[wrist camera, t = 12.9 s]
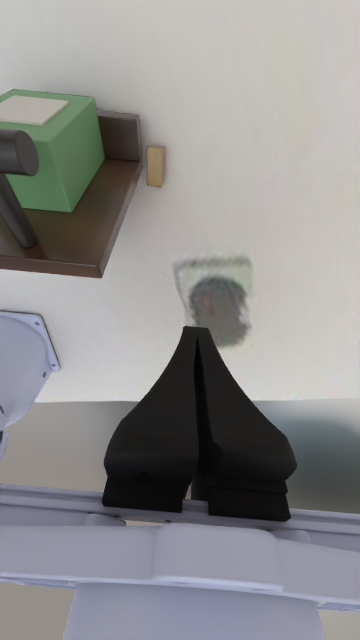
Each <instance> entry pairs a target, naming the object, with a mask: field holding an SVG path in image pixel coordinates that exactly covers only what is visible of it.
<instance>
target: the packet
mask: <svg viewBox="0 0 360 640" xmlns="http://www.w3.org/2000/svg"><path fill="white" fill-rule="evenodd" d="M0 128H7V129H17V130H23V131H25V132H26V133H27V134H28V135H29V136H30V137H31V138H32V140H33V142H34V144H35V146H36V149H37V152H38V157H39V169H38V172H37V174H36V175H34V176H22V175H12V174H5V175H6V177H7V179H8V181H9V183H10V185H11V187H12V188H13V190H14V192H15V194H16V196H17V198H18V200H19V202H20V204H21V206H22V208H29V209H39V210H49V211H59V212H69V213H71V212H72V211H73V210H74V208H75V207H76V205H77V203H78V202H79V200H80V198H81V197H82V195H83V193H84V192H85V190H86V188H87V187H88V185H89V184H90V182H91V180H92V179H93V177H94V175H95V174H96V172H97V170H98V169H99V167H100V165H101V164H102V162H103V161H104V159H105V156H104V150H103V145H102V139H101V133H100V127H99V122H98V116H97V110H96V104H95V99H94V98H93V97H85V96H76V95H66V94H57V93H47V92H38V91H28V90H18V89H13V90H11V91H9V92H7V93H5V94H3V95H1V96H0Z"/></svg>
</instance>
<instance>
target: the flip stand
mask: <svg viewBox="0 0 360 640" xmlns="http://www.w3.org/2000/svg"><path fill="white" fill-rule="evenodd" d="M97 116H98V122H99V127H100V133H101V139H102V145H103V150H104V156H105V159H104V161H103V162H102V164H101V165H100V167H99V169H98V170H97V172H96V174H95V175H94V177H93V179H92V180H91V182H90V184H89V185H88V187H87V188H86V190H85V192H84V193H83V195H82V197H81V198H80V200H79V202H78V203H77V205H76V207H75V208H74V210H73V211H72V212H71V213H69V212H59V211H49V210H39V209H29V208H22V206H21V204H20V202H19V200H18V198H17V196H16V194H15V192H14V190H13V188H12V187H11V185H10V183H9V181H8V179H7V177H6V175H5V174H12V175H22V176H34V175H36V174H37V172H38V169H39V157H38V152H37V149H36V146H35V144H34V142H33V140H32V138H31V137H30V136H29V135H28V134H27V133H26V132H25V131H23V130H17V129H7V128H0V269H7V270H18V271H28V272H39V273H49V274H59V275H70V276H80V277H90V278H102V276H103V274H104V271H105V268H106V265H107V263H108V260H109V257H110V255H111V252H112V249H113V246H114V244H115V241H116V238H117V236H118V233H119V230H120V227H121V225H122V222H123V219H124V217H125V214H126V211H127V208H128V206H129V203H130V200H131V198H132V195H133V192H134V189H135V187H136V184H137V181H138V179H139V176H140V173H141V170H142V157H141V156H142V152H141V135H140V119H139V115H137V114H127V113H118V112H108V111H99V110H97Z"/></svg>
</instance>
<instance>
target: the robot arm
mask: <svg viewBox="0 0 360 640" xmlns="http://www.w3.org/2000/svg"><path fill="white" fill-rule="evenodd" d="M59 371H60V366H59V364H58V361H57V358H56V355H55V353H54V350H53V347H52V345H51V342H50V339H49V336H48V334H47V331H46V328H45V326H44V323H43V320H42V318H41V317H40V316H39V315H33V314H23V313H12V312H2V311H0V461H1V460H2V458H3V455H4V453H5V450H6V446H7V440H8V434H7V432H6V431H5V430H4V428H5V427H7V426H10V425H12V424H13V423H15V422H17V421H18V420H19V419H21V418H22V417H23V416H24V415H25V414H26V413H27V412H28V410H29V409H30V407H31V406H32V404H33V402H34V401H35V399H36V397H37V396H38V394H39V392H40V391H41V389H42V387H43V386H44V384H45V382H46V381H47V379H48V377H49V376H50V374H51V372H59ZM104 467H105V470H106V473H107V476H108V478H107V482H106V486H105V490H104V492H95V491H84V490H73V489H61V488H50V487H38V486H27V485H14V484H4V483H0V582H3V583H14V584H25V585H35V586H45V587H55V588H66V589H75V594H74V597H73V601H72V605H71V609H70V613H69V616H68V620H67V624H66V628H65V631H64V635H63V639H62V640H326V639H325V635H324V631H323V627H322V623H321V619H320V615H319V611H318V609H324V610H338V611H354V612H360V514H348V513H337V512H326V511H315V510H302V509H292V508H289V507H288V503H287V499H286V495H285V494H286V493H287V492H288V490H287V486H286V482H285V480H287V479H288V478H289V477H290V476H291V475H292V474H293V473H294V471H295V470H296V468H297V463H296V460H295V456H294V454H293V451H292V449H291V446H290V444H289V442H288V439H287V437H286V436H285V435H284V434H283V433H282V432H281V431H280V430H278V429H277V428H276V427H275V426H274V425H273V424H272V423H271V422H270V421H269V420H268V419H267V418H266V417H265V416H264V415H263V414H262V413H261V412H260V411H259V410H258V408H257V407H256V406H255V405H254V404H253V403H252V402H251V400H250V399H249V398H248V397H247V396H246V394H245V393H244V392H243V390H242V389H241V388H240V387H239V385H238V384H237V382H236V381H235V379H234V378H233V376H232V375H231V373H230V372H229V370H228V368H227V367H226V365H225V363H224V362H223V360H222V358H221V356H220V354H219V352H218V350H217V348H216V346H215V344H214V341H213V339H212V336H211V333H210V330H209V329H208V328H201V327H191V326H185V327H183V332H182V335H181V338H180V341H179V344H178V346H177V348H176V350H175V352H174V354H173V356H172V358H171V360H170V362H169V363H168V365H167V367H166V368H165V370H164V372H163V373H162V374H161V376H160V377H159V379H158V380H157V382H156V383H155V384H154V386H153V387H152V388H151V389H150V391H149V392H148V393H147V394H146V395H145V396H144V398H143V399H142V400H141V401H140V402H139V403H138V404H137V405H136V407H135V408H134V409H133V410H132V411H131V412H130V413H128V414H127V416H126V417H124V418H123V419H122V420H121V421H120V423H119V425H118V427H117V428H116V430H115V432H114V434H113V436H112V438H111V440H110V443H109V445H108V448H107V451H106V455H105V458H104ZM191 481H192V485H191V500H188V499H185V497H186V493H187V490H188V487H189V485H190V484H191ZM124 520H131V521H144V522H155V523H166V524H164V525H162V526H126V522H125V521H124Z"/></svg>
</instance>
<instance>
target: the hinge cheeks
mask: <svg viewBox="0 0 360 640" xmlns="http://www.w3.org/2000/svg"><path fill="white" fill-rule="evenodd" d="M164 159H165V147H164V146H155V145H150V146H147V185H148V186H156V187H161V186H162V185H163V183H164Z"/></svg>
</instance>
